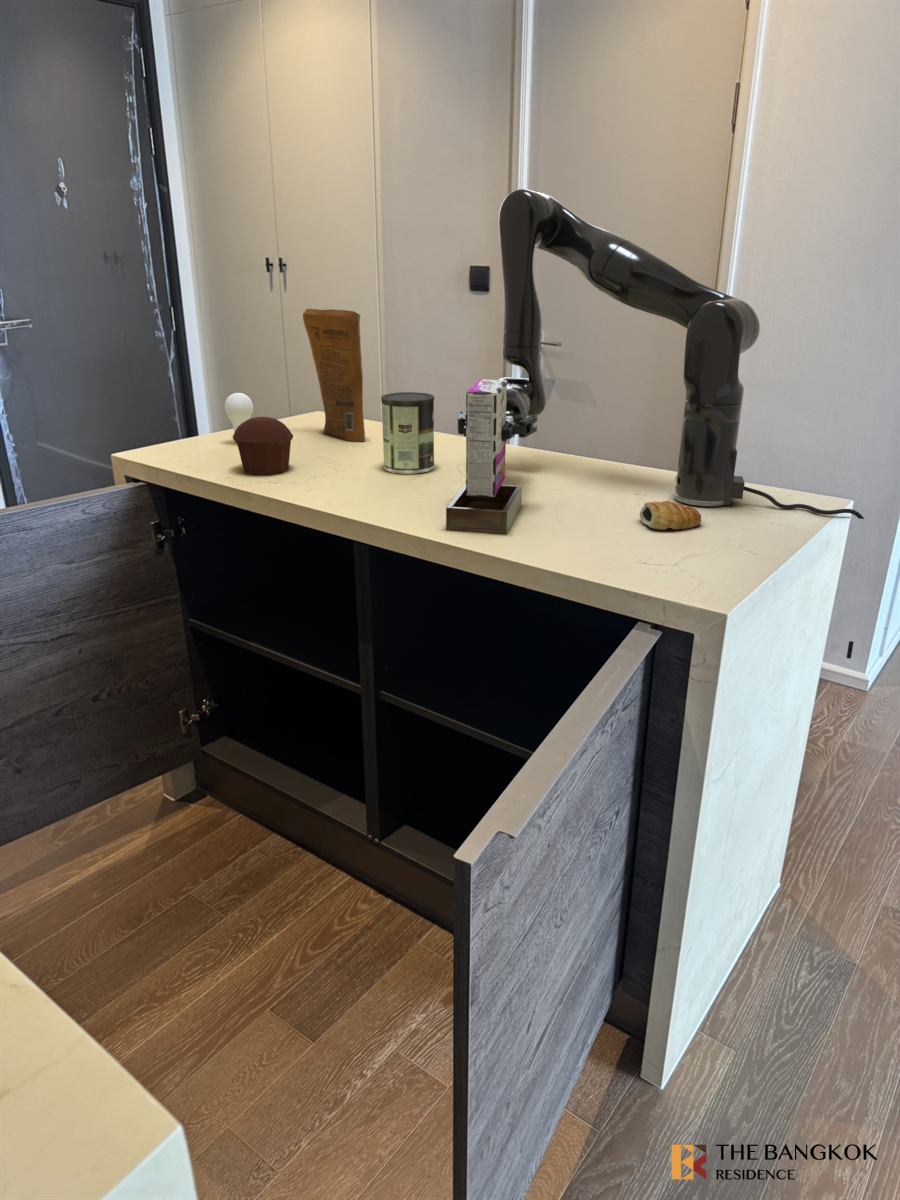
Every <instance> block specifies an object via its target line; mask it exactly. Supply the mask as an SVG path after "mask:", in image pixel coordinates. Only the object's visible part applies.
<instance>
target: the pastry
mask: <svg viewBox="0 0 900 1200" xmlns="http://www.w3.org/2000/svg"><path fill="white" fill-rule="evenodd" d="M639 518H640V522H641V523H642V524H643V525H645V526H648V527H649V528H651V529H655V530H657V531H660V530H661V531H662V530H665V531H666V530H667V529H672V530H679V529H681V530H684V529H691V528H694V527H696V526H698V525H700V524H701V522H702V515H701V513H700V511H699V510H698V509H696V508H695V507H693V506H691V505H690V506H689V505H687V506H685V505H684V504H683V503H680V502H679V503H677V502H671V501H669V500H663V501H647V502H645V503H644V504H643V506H642V507H641V510H640V512H639Z"/></svg>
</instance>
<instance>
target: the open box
mask: <svg viewBox="0 0 900 1200" xmlns="http://www.w3.org/2000/svg"><path fill="white" fill-rule="evenodd" d="M522 497H523V485H516V484H515V485H514V484H502V485H501V486H500V488H499V490H498V492H497V494H496V496H495V497H474V496H467V495H466V483H465V484H464V485H463V487H462V488H460V490H459V492H458V493H457V494H456V495H455V496H454V498H453V499H452V500H451V501H450V502H449V503H448V505H447V506H446V507H445V530H447V531H459V532H473V533H485V534H498V535H499V534H500V535H507V534H508V532H509V530H510V528H511V526H512V524H513V523H514V521H515V519H516V517H517V515H518V513H519V511H520V509H521V507H522V499H523V498H522Z"/></svg>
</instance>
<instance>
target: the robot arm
mask: <svg viewBox="0 0 900 1200" xmlns="http://www.w3.org/2000/svg"><path fill="white" fill-rule="evenodd" d="M498 232H499V233H498V236H499V243H500V244H499V245H500V253H501V266H502V278H503V292H504V293H503V294H504V325H503V341H502V342H503V343H502V359H503V361H504V362H505V363H506V364H508V365H512V366H517V367H520V368H522V369H523V370H524V371H525V372H526V374H527V376H528V378H527V377H511V376H510V377H508V376H507V377H506V376H505V377H500V378H498V379H497V380H507V401H506V423H505V425H504V426H503V427H502V437H501V438H502V441H505V442H506V443H507V441H508V440H511V439H513V438H515V437H516V435H518V437H519V438H521V439H523V438H527V437H528V436H530V435H532V434H535V433H536V432H537V431H538V416H539V415H540V414H542V412H543V411H544V410H545V408H546V406H547V392H546V391H547V390H546V386H545V382H544V377H543V373H542V366H541V345H542V344H541V343H542V341H541V340H542V325H543V324H542V311H541V306H540V301H539V297H538V293H537V289H536V283H535V276H534V252H535V249H539V250H541V251H543V252H547V253H549V254H551V255H553V256H555V257H557V258H560V259H562V260H564V261H565V262H568V263H569V264H571V266H573V267H574V268H575V269H576V270H577V271H578V273H580V274H581V275H582V277H583V278H584V279H585V280H586V281H587V282H588V283H589V284H590V285H591V286H593V287H594V288H595V289H597V290H598V291H600V292H601V293H603V294H605V295H607V296H608V297H610V298H612V299H613V300H614V301H617V302H619V303H621V304H623V305H625V306H626V307H629V308H632V309H635V310H637V311H641V312H644V313H646V314H650V315H654V316H657V317H660V318H663V319H667V320H669V321H672V322H673V323H676V324H678V325H680V326H681V327H683V328H685V329H686V334H685V335H686V336H685V344H684V345H685V346H684V360H683V374H682V375H683V378H682V379H683V385H684V387H685V399H684V407H683V418H682V425H681V426H682V427H681V436H680V445H679V453H678V454H679V455H678V463H677V472H676V475H675V477H674V482H675V488H674V489H675V490H674V495H673V498H674V499H675V500H676V501H677V502H679V503H681V504H686V505H688V506H689V505H690V506H696V507H723V506H727V507H728V506H729V507H730V506H731V502H732V500H733V499H735V500H743V497H744V491H745V492H748V493H751V494H755V495H757V496H759V497H763V498H765V499H767V500H768V501H769V502H771V504H773V505H774V506H775V507H777V508H780V509H782V510H783V509H784V510H792V509H803V510H807V511H810V512H812V513H815V514H819V515H825V516H829V515H830V516H831V515H839V514H851V515H853V516H855V517H856V518H857V519H859V520H860V519H861V520H864V519H865V517H864V516H863V515H862V514H861V513H860V512H859V511H857V510H855V509H852V508H839V509H838V508H837V509H831V510H825V509H821V508H817V507H814V506H812V505H809V504H806V503H805V504H804V503H793V504H783V503H780V502H779V501H778V500H776V499H775V498H774V497H773V496H772V495H770V494H768V493H766V492H764V491H761V490H758V489H755V488H751V487H749V486H745V484H746V483H745V479H744V477H743V475H742V476H741V475H735V471H736V464H737V456H738V450H737V446H738V445H737V444H738V438H739V437H738V436H739V429H740V423H741V414H742V408H743V406H742V405H743V402H744V401H743V400H744V394H745V393H744V391H745V387H744V384H743V383H742V382H741V381H740V377H739V368H740V360H741V359H740V358H741V354H743V353H745V352H746V351H748V350H750V349H751V348H752V347H753V346H754V345H755V343H756V342H757V340H758V339H759V336H760V331H761V329H760V327H761V325H760V320H759V317H758V314H757V313H756V311H755V310H754V308H753V307H752V306H751V305H750V304H749V303H747V302H746V301H744V300H742V299H739V298H737V297H734V296H732V295H729V294H727V293H724V292H721V291H719V290H716V289H715V288H711V287H709V286H707V285H705V284H702V283H701V282H698V281H696V280H694V279H693V278H691V277H690V276H688V275H686V274H685V273H683V272H682V271H680V270H679V269H678V268H676V267H675V266H673V265H671V264H669V263H668V262H667V261H665V260H663V259H661V258H660V257H658V256H656V255H654V254H653V253H651V252H650V251H648V250H647V249H644V248H643V247H641V246H639V245H637V244H635V243H634V242H632V241H630V240H628V239H626V238H625V237H621V236H620V235H618V234H616V233H613V232H611V231H609V230H606V229H604V228H601V227H598V226H595V225H593V224H591V223H589V222H587V221H586V220H583V219H582V218H581V217H579V216H578V215H577V214H575V213H574V212H573V211H571V210H570V209H568V208H567V207H565V205H563V204H562V203H561V202H559V201H558V200H557V199H555V198H554V197H552V196H550V195H549V194H546V193H543V192H538V191H534V190H531V189H527V188H526V189H525V188H519V189H515V190H513V191H511V192H510V193H508V194H507V195H506V197H504V199H503V201H502V203H501V205H500V208H499V212H498ZM457 434H459V435H463V437H466V411H458V412H457ZM853 648H854V641H852V640H849V641H848V645H847V652H846V659H852V654H853Z"/></svg>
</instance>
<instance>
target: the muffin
mask: <svg viewBox="0 0 900 1200" xmlns="http://www.w3.org/2000/svg"><path fill="white" fill-rule="evenodd" d="M293 438H294V434H293V433H292V431H291V430H290V428H289V427H288V426H286V424H285V423H283V422H282V421H280V420H279V419H277V418H273V417H269V416H255V417H250V419H248V420H246V421H245V422H243V423H242V424H240V425H239V426H238V427H237V429H236V430H235V431H234V432H233V435H232V440H233V441H234V442H235V443H236V445H237V449H238V453H239V457H240V461H241V466H242V469H243V472H244V474H249V475H252V476H257V475H258V476H269V475H270V476H271V475H276V474H282V473H284V472H287V471H289V467H290V458H291V457H290V456H291V443H292V440H293Z"/></svg>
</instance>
